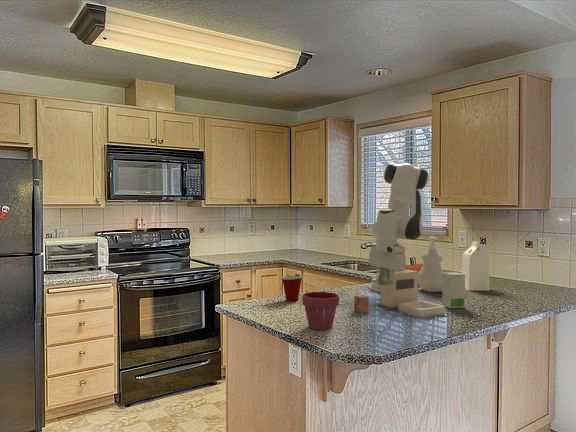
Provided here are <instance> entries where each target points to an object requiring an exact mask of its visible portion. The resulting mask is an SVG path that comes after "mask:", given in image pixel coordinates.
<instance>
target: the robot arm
mask: <svg viewBox="0 0 576 432" xmlns="http://www.w3.org/2000/svg"><path fill="white" fill-rule="evenodd" d="M384 168H385V169H384V171H383V179H384V181H385V182H386V183H387V184H388V185H389V184H390V196H389V199H388V202H387V203H388V205H387V208H381V209H380V210H379V211H377V217H376V221H375V222H373V223H372V226H371V235H372V237H374V239H375V240H376V241H375V244H373V245H371V247H370V251H369V255H368V256H369V257H368V264H369V265H370V266H372V267H376V270H377V273H376V274H374V275H373V276H372V278H371V284H368V285H367V288H368V289H370V290H372V291H374V292H378V293H381V284H378V279H379V268H385V269H389V270H390V275H389V276H388V280H393V276H394V274H395V272H396V271H404V270H405V267H406V266H407V265H406V264H407V261H406V260H407V259H406V254H405V253H406V250H407V249H406V247H404V246H403V245H401V244H400V243H399V242H398V240H404V239H407V240H417V239H418V238H419V237H421V236H422V234H423V227H424V226H423V220H422V197H421V193H420V191H419V190H423V189H425V187H426V186H427V185H428V183H429V178H430V177H429V172H428V171H427V170H426V169H423V168H420V167H416V166H414V165H413V164H410V163H403V164H398V163H394V162H393V163H391V162H390V163H388V164H387V165H386V167H384ZM410 207H411V215H410Z"/></svg>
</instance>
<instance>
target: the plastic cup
mask: <svg viewBox="0 0 576 432" xmlns="http://www.w3.org/2000/svg"><path fill="white" fill-rule="evenodd" d="M280 279H281V282H282V285H283V290H284V296H285V300H286V302H291V303H292V302H293V303H294V302H295V303H296V302H298V300H299V297H300V292H301V286H302V285H301V284H302V280H303V276H302V275H288V276H281V277H280Z"/></svg>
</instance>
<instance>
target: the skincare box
mask: <svg viewBox="0 0 576 432" xmlns="http://www.w3.org/2000/svg"><path fill="white" fill-rule="evenodd" d="M441 292H442V294H441V295H442V296H441V297H442V298H441V299H442V302H441V303H442V304H441V305H442V306H445V308H448V309H457V308H459V309H460V308H465V301H466V299H465V298H466V295H465V294H466V289H465V274H462V272H461V273H460V272H452V271H451V272H444V273H443V290H442V291H441Z"/></svg>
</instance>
